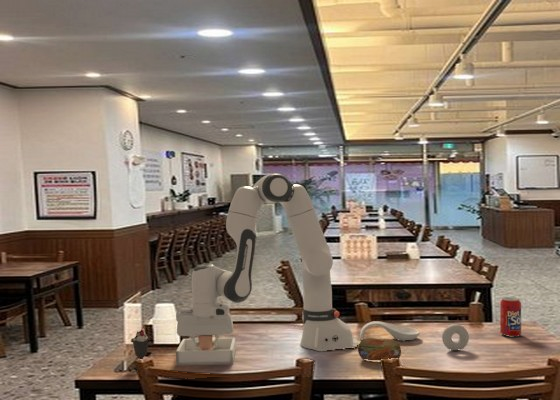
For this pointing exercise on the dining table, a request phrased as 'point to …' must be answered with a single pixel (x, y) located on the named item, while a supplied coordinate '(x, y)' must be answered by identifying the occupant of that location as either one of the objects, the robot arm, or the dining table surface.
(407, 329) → the spoon rest
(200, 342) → the reddish brown block
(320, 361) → the dining table surface
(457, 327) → the donut
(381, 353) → the tin
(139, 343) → the sundae
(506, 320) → the soda can
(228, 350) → the bus tub
